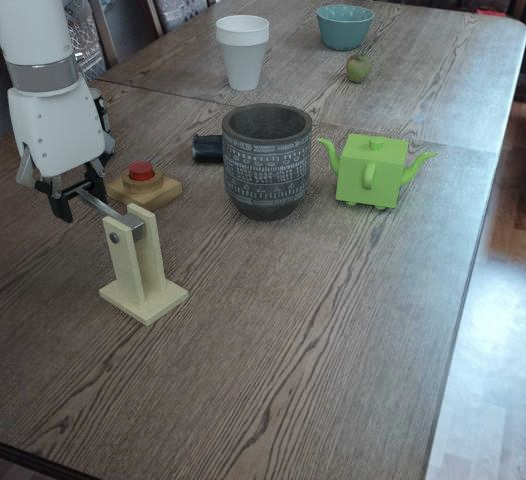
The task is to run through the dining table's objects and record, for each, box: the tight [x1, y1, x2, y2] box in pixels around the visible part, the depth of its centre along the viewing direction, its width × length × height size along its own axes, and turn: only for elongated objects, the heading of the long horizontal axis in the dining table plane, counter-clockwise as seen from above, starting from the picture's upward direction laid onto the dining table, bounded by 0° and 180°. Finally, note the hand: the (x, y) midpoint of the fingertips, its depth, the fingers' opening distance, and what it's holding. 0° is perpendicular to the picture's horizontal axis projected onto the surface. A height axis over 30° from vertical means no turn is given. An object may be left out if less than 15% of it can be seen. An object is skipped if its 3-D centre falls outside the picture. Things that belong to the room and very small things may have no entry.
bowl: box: [315, 4, 375, 51], centre depth 152 cm, size 16×16×8 cm
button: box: [128, 161, 154, 181], centre depth 95 cm, size 4×4×2 cm
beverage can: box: [88, 87, 116, 160], centre depth 104 cm, size 7×7×12 cm
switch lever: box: [61, 178, 145, 243], centre depth 72 cm, size 13×5×2 cm, turn 50°
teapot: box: [316, 133, 438, 210], centre depth 94 cm, size 15×13×11 cm
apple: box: [345, 53, 371, 84], centre depth 135 cm, size 6×8×6 cm
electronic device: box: [191, 132, 224, 163], centre depth 107 cm, size 9×6×15 cm
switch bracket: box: [98, 203, 190, 328], centre depth 74 cm, size 10×8×13 cm
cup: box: [215, 14, 270, 92], centre depth 129 cm, size 12×12×14 cm
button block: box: [104, 164, 184, 213], centre depth 97 cm, size 10×9×4 cm
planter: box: [221, 102, 313, 222], centre depth 90 cm, size 14×14×15 cm
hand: (81, 209), depth 76 cm, fingers closed on switch lever, 5 cm apart
